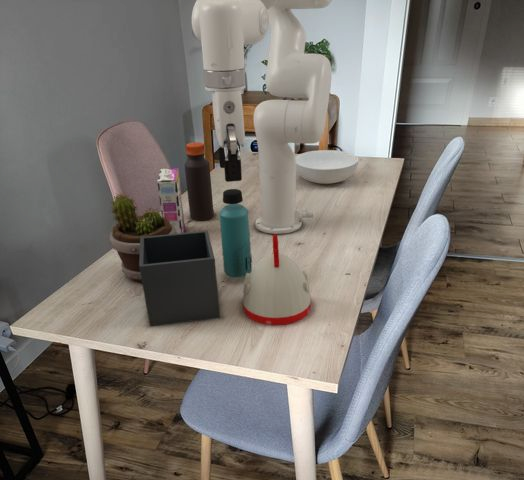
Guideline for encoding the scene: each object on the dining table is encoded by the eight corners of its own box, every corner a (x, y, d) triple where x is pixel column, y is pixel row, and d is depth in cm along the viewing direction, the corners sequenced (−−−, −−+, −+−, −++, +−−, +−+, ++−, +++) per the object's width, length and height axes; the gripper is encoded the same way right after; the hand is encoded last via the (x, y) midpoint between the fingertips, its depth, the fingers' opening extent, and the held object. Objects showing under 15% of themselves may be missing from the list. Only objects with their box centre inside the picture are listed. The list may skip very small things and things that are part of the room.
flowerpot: (189, 261, 130) (179, 178, 118) (167, 291, 117) (154, 202, 106) (133, 257, 132) (118, 176, 121) (106, 286, 120) (87, 199, 109)
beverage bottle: (249, 285, 118) (244, 196, 107) (220, 283, 120) (212, 195, 108) (255, 272, 124) (251, 186, 112) (227, 270, 125) (221, 185, 113)
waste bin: (213, 285, 119) (207, 230, 111) (220, 317, 108) (214, 258, 100) (149, 292, 117) (140, 237, 110) (149, 326, 106) (139, 266, 98)
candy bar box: (184, 243, 138) (176, 180, 129) (165, 244, 138) (156, 181, 129) (186, 227, 147) (178, 166, 138) (167, 228, 147) (159, 168, 138)
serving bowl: (282, 183, 176) (281, 162, 172) (314, 167, 189) (314, 147, 185) (338, 194, 165) (339, 171, 162) (367, 176, 179) (369, 154, 175)
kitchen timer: (307, 289, 116) (308, 223, 107) (313, 323, 105) (315, 253, 96) (243, 292, 116) (239, 226, 107) (243, 326, 105) (238, 255, 96)
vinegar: (186, 220, 152) (178, 147, 140) (195, 211, 157) (187, 140, 145) (209, 222, 150) (202, 148, 139) (217, 213, 155) (211, 141, 144)
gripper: (252, 85, 92) (255, 185, 101) (238, 72, 106) (242, 161, 116) (208, 88, 91) (216, 188, 100) (200, 75, 105) (208, 163, 115)
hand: (230, 173), depth 108 cm, fingers open, 9 cm apart
